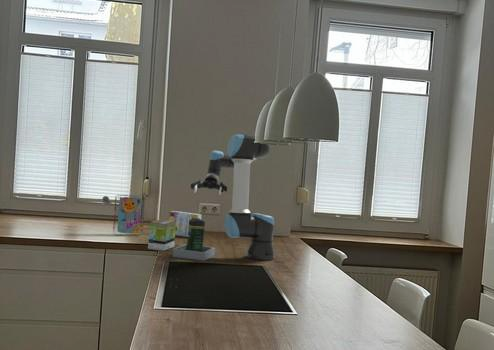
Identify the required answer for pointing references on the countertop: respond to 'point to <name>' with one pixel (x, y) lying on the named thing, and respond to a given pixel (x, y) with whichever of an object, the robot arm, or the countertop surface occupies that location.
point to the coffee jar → (195, 235)
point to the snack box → (182, 221)
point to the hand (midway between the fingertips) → (207, 191)
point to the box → (128, 213)
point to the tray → (194, 253)
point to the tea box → (162, 234)
